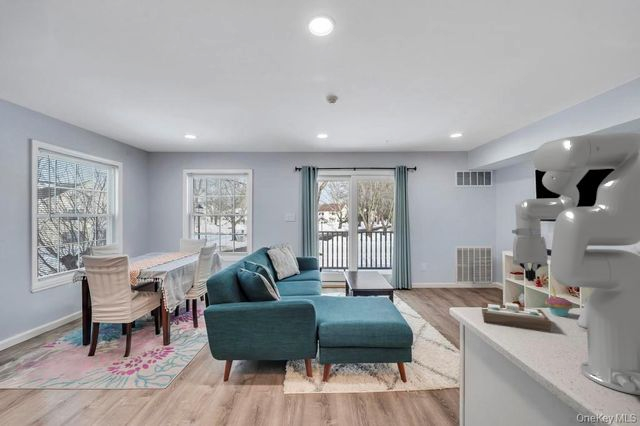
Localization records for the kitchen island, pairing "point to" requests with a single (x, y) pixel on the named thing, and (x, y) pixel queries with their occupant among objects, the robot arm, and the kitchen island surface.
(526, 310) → the button right
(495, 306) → the white square block
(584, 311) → the flask
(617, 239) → the robot arm
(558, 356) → the kitchen island surface
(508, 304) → the button mid
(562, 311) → the cupcake
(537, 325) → the board
